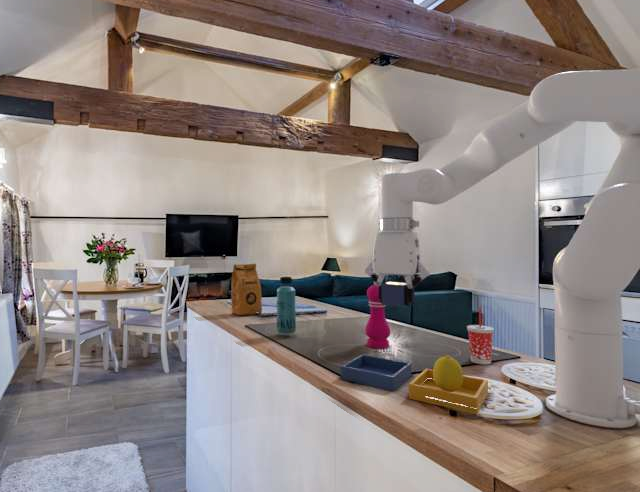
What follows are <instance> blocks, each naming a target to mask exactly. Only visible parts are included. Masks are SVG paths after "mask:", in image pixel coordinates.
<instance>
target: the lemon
mask: <svg viewBox="0 0 640 492" xmlns="http://www.w3.org/2000/svg"><path fill="white" fill-rule="evenodd" d="M432 370H433V376H434V381H435V383H436V384H437V386H438V387H439V388H440V389H442V390H444V391H449V392H454V391H457V390H458V389H459V388H460V387H461V385H462V383H463V376H464V372H463V367H462V365H461V364H460V363H459V361H457V359H456V358H454V357H451V356H450V355H448V354H446V355H445V356H441V357H439V358H438V359H437V360H436V361H435V363H434V364H433V368H432Z"/></svg>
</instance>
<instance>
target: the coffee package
mask: <svg viewBox="0 0 640 492" xmlns="http://www.w3.org/2000/svg"><path fill="white" fill-rule="evenodd" d="M256 268H257V263H247V264H237V263H235V264H233V267H232V275H231V282H230V283H231V285H230V286H231V287H230V288H231V296H230V297H231V298H230V299H231V314H233V315H237V316H253V315H254V316H255V315H261V314H262V311H263V305H262V304H263V303H262V299H263V298H262V288H261V286H262V285H261V282H260V278H259V275H258V273H257V272H258V271H257V269H256ZM256 312H259V313H256Z"/></svg>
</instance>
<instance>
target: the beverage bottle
mask: <svg viewBox="0 0 640 492" xmlns="http://www.w3.org/2000/svg"><path fill="white" fill-rule="evenodd" d="M279 283H280V284H282V286H279V287H278V288H277V289H276V331H277V333H279V334H288V335H289V334H294V333H296V329H297V325H296V323H297V321H296V320H297V312H296V311H297V310H296V289H295V288H294V287H293V286H289V284H293V278H292V276H281V277H280V278H279ZM287 284H288V286H287ZM285 285H286V286H285Z"/></svg>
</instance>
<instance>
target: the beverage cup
mask: <svg viewBox="0 0 640 492" xmlns="http://www.w3.org/2000/svg"><path fill="white" fill-rule="evenodd" d="M466 330H467V332H468V333H467V334H468V345H469V356H470V362H471V363H474V364H479V365H490V364H492V355H493V354H492V353H493V336H494V333H495V332H494V331H495V328H494V327H492V326H488V325H483V324H482V308H481V307H479V308H478V324H469V325H466Z"/></svg>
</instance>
